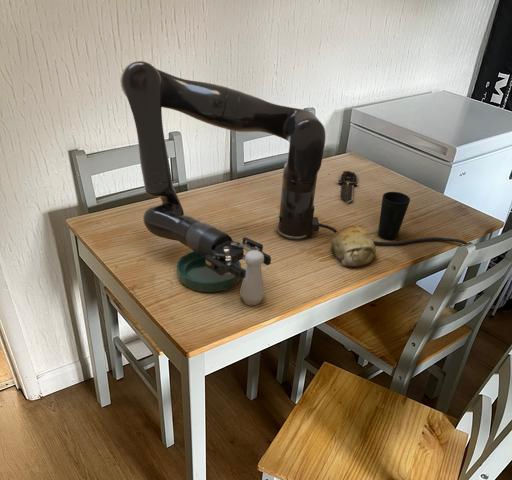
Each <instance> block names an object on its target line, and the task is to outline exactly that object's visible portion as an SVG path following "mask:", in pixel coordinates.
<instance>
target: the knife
mask: <svg viewBox="0 0 512 480" xmlns="http://www.w3.org/2000/svg"><path fill="white" fill-rule="evenodd" d="M342 172H343V173H342V174H341V177H340V179H338V183H337V185H340V186H341V188H340V196H339V197H340V198H341V199H342V200H343V201H346V204H349V203H351V202H352V201H353V197H354V188H355V187H358V182H357V174H356V173H355V172H354V171H353V172H352V171H350V170H345V171H342ZM347 181H349V182H347Z"/></svg>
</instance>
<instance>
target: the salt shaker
mask: <svg viewBox="0 0 512 480" xmlns="http://www.w3.org/2000/svg"><path fill="white" fill-rule="evenodd" d="M245 255H246V256H245V260H244V262H245V264H246V267H245V270H246V277H245V278H244V279H242V283H241V285H240V286H241V287H240V289H239V293H240V297H241V298H242V301H243V302H244V303H245V304H246V305H249V306H256V305H259V304H260V303H261V302H262V300H263V299H264V296H265V293H266V292H265V285H264V278H263V271H262V265H264V263H263V262H264V255H263V253H261V252H260V251H257V250H252V251H249V252H248V253H246V254H245Z"/></svg>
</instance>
